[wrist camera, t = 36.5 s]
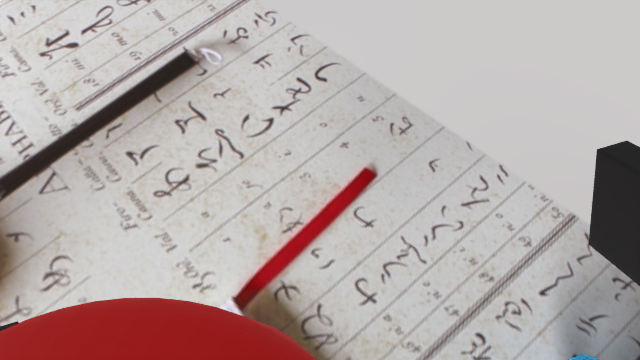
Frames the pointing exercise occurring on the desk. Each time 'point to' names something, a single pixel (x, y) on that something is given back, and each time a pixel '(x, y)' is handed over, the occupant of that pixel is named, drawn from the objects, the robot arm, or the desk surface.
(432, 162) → the desk surface
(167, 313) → the beverage can
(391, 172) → the desk surface
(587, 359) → the mug
